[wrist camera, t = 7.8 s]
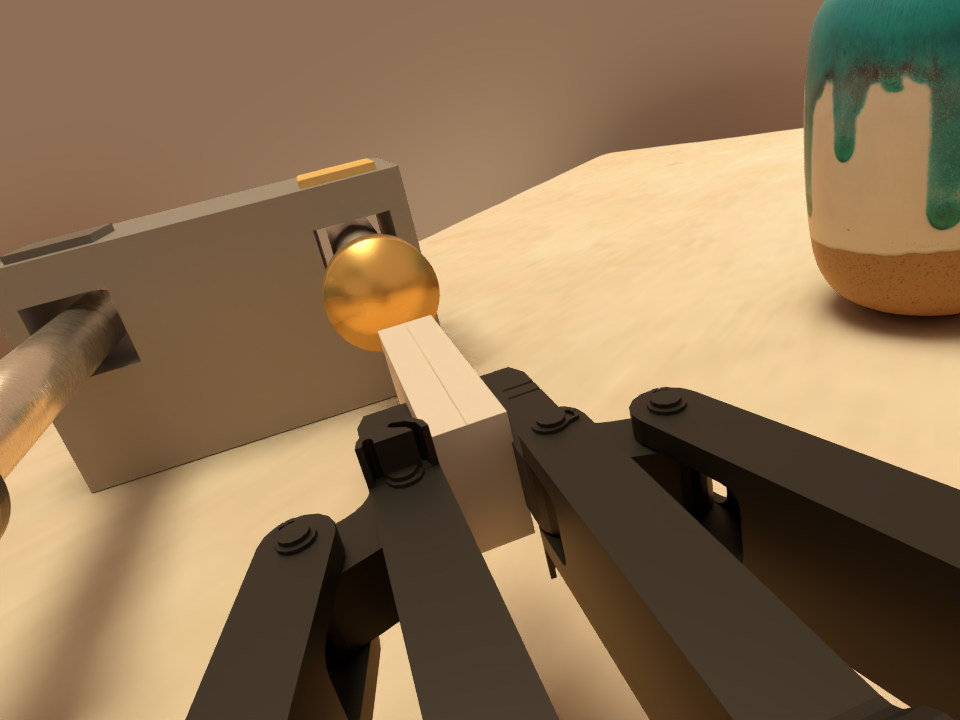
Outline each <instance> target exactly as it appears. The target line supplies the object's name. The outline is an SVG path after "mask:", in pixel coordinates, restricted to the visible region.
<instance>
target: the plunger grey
mask: <svg viewBox="0 0 960 720" xmlns="http://www.w3.org/2000/svg"><path fill="white" fill-rule="evenodd" d="M126 333H127V330H126V328H125V326H124V324H123V322H122V319H121V317H120V315H119V313H118V311H117V309H116V307H115V305H114V303H113V300H112V298H111V296H110V294H109V292H108V290H94V291H90V292H88V293H86V294H84V295H83V296H82V297H80V298H79V299H78V300H77V301H75V302H74V303H73V304H71V305H70V306H69V307H68V308H66V309H65V310H64V311H62V312H61V313H60V314H59V315H57V316H56V317H55V318H54V319H52V320H51V321H50V322H48V323H47V324H46V325H45V326H43V327H42V328H41V329H39V330H38V331H37V332H36V333H34V334H33V335H32V336H31V337H29V338H28V339H27V340H25V341H24V342H23V343H22V344H20V345H19V346H18V347H16V348H15V349H14V350H13V351H12V352H10V353H9V354H8V355H6V356H5V357H4V358H3V359H1V360H0V539H1V537H2V536H3V534H4V532H5V530H6V528H7V525H8V523H9V518H10V511H11V503H10V496H9V492H8V489H7V486H6V484H5V482H4V480H5V478H6V477H7V476H8V475H9V474H10V472H11V471H12V470H13V469H14V468H15V466H16V465H17V464H18V463H19V462H20V460H21V459H22V458H23V457H24V456H25V454H26V453H27V452H28V451H29V450H30V448H31V447H32V446H33V445H34V444H35V442H36V441H37V440H38V439H39V438H40V436H41V435H42V434H43V433H44V432H45V430H46V429H47V428H48V427H49V426H50V424H51V423H52V422H53V421H54V420H55V418H56V417H57V416H58V415H59V414H60V412H61V411H62V410H63V409H64V407H65V406H66V405H67V404H68V403H69V401H70V400H71V399H72V398H73V397H74V395H75V394H76V393H77V392H78V391H79V389H80V388H81V387H82V386H83V385H84V383H85V382H86V381H87V380H88V379H89V377H90V376H91V375H92V374H93V373H94V371H95V370H96V369H97V368H98V367H99V365H100V364H101V363H102V362H103V361H104V359H105V358H106V357H107V356H108V355H109V353H110V352H111V351H112V350H113V349H114V347H115V346H116V345H117V344H118V343H119V341H120V340H121V339H122V338H123V336H124V335H125V334H126Z"/></svg>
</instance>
